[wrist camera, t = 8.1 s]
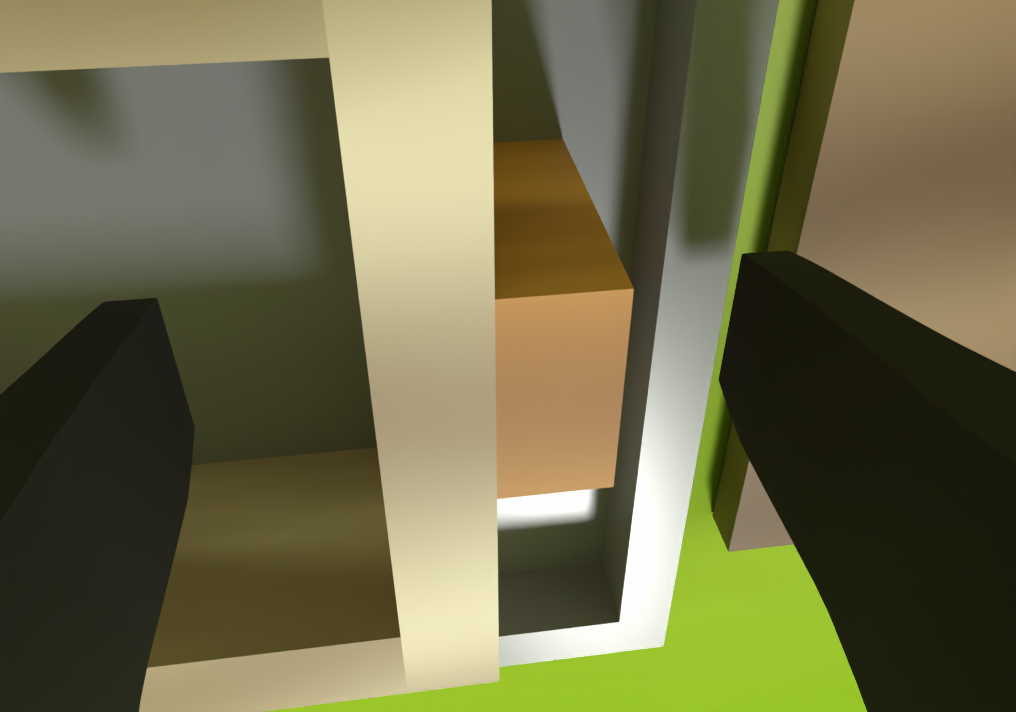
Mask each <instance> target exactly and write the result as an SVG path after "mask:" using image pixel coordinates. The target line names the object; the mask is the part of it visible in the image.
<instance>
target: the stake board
mask: <svg viewBox="0 0 1016 712" xmlns="http://www.w3.org/2000/svg"><path fill="white" fill-rule="evenodd" d="M786 250H788V251H791V252H793V253H795V254H797V255H800V256H802V257H804V258H806V259H808V260H810V261H812V262H814V263H815V264H817V265H819V266H821V267H823V268H825V269H827V270H828V271H830V272H832V273H834V274H836V275H837V276H839V277H841V278H843V279H844V280H846V281H848V282H850V283H851V284H853V285H855V286H857V287H858V288H860V289H862V290H864V291H865V292H867V293H869V294H870V295H872V296H874V297H876V298H877V299H879V300H881V301H883V302H884V303H886V304H888V305H890V306H891V307H893V308H895V309H897V310H898V311H900V312H902V313H904V314H906V315H907V316H909V317H911V318H913V319H914V320H916V321H918V322H920V323H922V324H924V325H925V326H927V327H929V328H931V329H933V330H934V331H936V332H938V333H940V334H942V335H944V336H946V337H948V338H949V339H951V340H953V341H955V342H957V343H959V344H961V345H963V346H965V347H967V348H969V349H971V350H973V351H975V352H977V353H979V354H981V355H983V356H985V357H987V358H989V359H991V360H993V361H995V362H997V363H999V364H1001V365H1003V366H1005V367H1007V368H1009V369H1011V370H1013V371H1015V372H1016V0H818V3H817V8H816V13H815V18H814V23H813V28H812V33H811V37H810V42H809V47H808V52H807V57H806V62H805V67H804V72H803V76H802V81H801V86H800V91H799V96H798V101H797V106H796V111H795V116H794V120H793V125H792V130H791V135H790V140H789V145H788V150H787V155H786V159H785V164H784V169H783V174H782V179H781V184H780V189H779V194H778V199H777V203H776V208H775V213H774V218H773V223H772V228H771V233H770V238H769V242H768V247H767V252H772V251H786ZM713 518H714V520H715V522H716V525H717V527H718V529H719V531H720V534H721V536H722V538H723V541H724V543H725V545H726V547H727V550H728V552H731V551H739V550H748V549H757V548H765V547H774V546H783V545H792V544H793V542H792V540H791V538H790V536H789V534H788V532H787V530H786V529H785V527H784V525H783V523H782V521H781V519H780V517H779V515H778V514H777V512H776V510H775V508H774V506H773V504H772V502H771V501H770V499H769V497H768V495H767V493H766V491H765V489H764V487H763V485H762V483H761V482H760V480H759V478H758V476H757V474H756V472H755V470H754V468H753V466H752V464H751V462H750V460H749V458H748V456H747V454H746V452H745V450H744V448H743V446H742V445H741V442H740V439H739V437H738V434H737V431H736V429H735V426H734V423H733V421H732V423H731V428H730V433H729V438H728V443H727V448H726V452H725V457H724V462H723V467H722V472H721V477H720V482H719V487H718V491H717V496H716V501H715V506H714V511H713Z"/></svg>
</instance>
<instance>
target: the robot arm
mask: <svg viewBox="0 0 1016 712" xmlns="http://www.w3.org/2000/svg"><path fill="white" fill-rule="evenodd" d="M719 382H720V385H721V388H722V391H723V394H724V397H725V400H726V403H727V406H728V409H729V412H730V415H731V418H732V421H733V423H734V426H735V429H736V431H737V434H738V437H739V439H740V442H741V445H742V446H743V448H744V450H745V452H746V454H747V456H748V458H749V460H750V462H751V464H752V466H753V468H754V470H755V472H756V474H757V476H758V478H759V480H760V482H761V483H762V485H763V487H764V489H765V491H766V493H767V495H768V497H769V499H770V501H771V502H772V504H773V506H774V508H775V510H776V512H777V514H778V515H779V517H780V519H781V521H782V523H783V525H784V527H785V529H786V530H787V532H788V534H789V536H790V538H791V540H792V542H793V544H794V545H795V547H796V549H797V551H798V553H799V555H800V557H801V559H802V560H803V562H804V564H805V566H806V568H807V570H808V572H809V574H810V575H811V577H812V579H813V581H814V583H815V585H816V587H817V589H818V591H819V594H820V596H821V598H822V600H823V602H824V604H825V606H826V608H827V610H828V612H829V615H830V617H831V620H832V622H833V625H834V627H835V630H836V632H837V635H838V637H839V640H840V642H841V645H842V647H843V650H844V652H845V655H846V657H847V660H848V662H849V665H850V667H851V670H852V672H853V675H854V677H855V680H856V682H857V685H858V687H859V690H860V693H861V696H862V698H863V701H864V704H865V706H866V709H867V712H1016V372H1015V371H1013V370H1011V369H1009V368H1007V367H1005V366H1003V365H1001V364H999V363H997V362H995V361H993V360H991V359H989V358H987V357H985V356H983V355H981V354H979V353H977V352H975V351H973V350H971V349H969V348H967V347H965V346H963V345H961V344H959V343H957V342H955V341H953V340H951V339H949V338H948V337H946V336H944V335H942V334H940V333H938V332H936V331H934V330H933V329H931V328H929V327H927V326H925V325H924V324H922V323H920V322H918V321H916V320H914V319H913V318H911V317H909V316H907V315H906V314H904V313H902V312H900V311H898V310H897V309H895V308H893V307H891V306H890V305H888V304H886V303H884V302H883V301H881V300H879V299H877V298H876V297H874V296H872V295H870V294H869V293H867V292H865V291H864V290H862V289H860V288H858V287H857V286H855V285H853V284H851V283H850V282H848V281H846V280H844V279H843V278H841V277H839V276H837V275H836V274H834V273H832V272H830V271H828V270H827V269H825V268H823V267H821V266H819V265H817V264H815V263H814V262H812V261H810V260H808V259H806V258H804V257H802V256H800V255H797V254H795V253H793V252H791V251H788V250H786V251H772V252H759V253H746V254H742V257H741V262H740V268H739V273H738V278H737V284H736V289H735V295H734V300H733V305H732V311H731V316H730V322H729V327H728V332H727V338H726V343H725V349H724V354H723V359H722V365H721V370H720V375H719ZM194 432H195V427H194V423H193V420H192V416H191V413H190V409H189V406H188V402H187V399H186V396H185V392H184V389H183V385H182V382H181V378H180V375H179V371H178V368H177V364H176V361H175V358H174V354H173V351H172V347H171V344H170V340H169V337H168V333H167V330H166V326H165V323H164V320H163V316H162V313H161V309H160V306H159V302H158V299H157V298H147V299H133V300H120V301H107V302H103V303H102V304H100V305H99V306H98V307H97V308H95V309H94V310H93V311H92V312H91V313H89V314H88V315H87V316H86V317H85V318H84V319H83V320H81V321H80V322H79V323H78V324H77V325H76V326H75V327H74V328H73V329H72V330H70V331H69V332H68V333H67V334H66V335H65V336H64V337H63V338H62V339H61V340H60V341H59V342H57V343H56V344H55V345H54V346H53V347H52V348H51V349H50V350H49V351H48V352H47V353H46V354H45V355H43V356H42V357H41V358H40V359H39V360H38V361H37V362H36V363H35V364H34V365H32V366H31V367H30V368H29V369H28V370H27V371H26V372H25V373H24V374H23V375H21V376H20V377H19V378H18V379H17V380H16V381H15V382H14V383H13V384H11V385H10V386H9V387H8V388H7V389H6V390H5V391H4V392H3V393H2V394H0V712H139V708H140V701H141V696H142V691H143V686H144V681H145V676H146V671H147V666H148V661H149V657H150V653H151V649H152V645H153V641H154V637H155V633H156V629H157V625H158V621H159V617H160V613H161V608H162V604H163V600H164V596H165V592H166V588H167V584H168V580H169V576H170V572H171V568H172V564H173V560H174V556H175V552H176V548H177V544H178V540H179V535H180V531H181V527H182V523H183V519H184V514H185V510H186V506H187V501H188V495H189V485H190V476H191V467H192V456H193V444H194Z"/></svg>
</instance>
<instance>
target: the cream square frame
mask: <svg viewBox="0 0 1016 712" xmlns="http://www.w3.org/2000/svg"><path fill="white" fill-rule="evenodd" d="M308 58H329V60H330V68H331V76H332V84H333V92H334V100H335V108H336V116H337V125H338V133H339V141H340V149H341V157H342V165H343V173H344V181H345V189H346V198H347V206H348V214H349V222H350V230H351V238H352V246H353V254H354V262H355V271H356V279H357V287H358V295H359V303H360V311H361V319H362V327H363V335H364V344H365V352H366V360H367V368H368V376H369V384H370V392H371V400H372V408H373V417H374V425H375V433H376V441H377V447H375V448H365V449H354V450H344V451H333V452H323V453H313V454H302V455H292V456H281V457H271V458H261V459H250V460H240V461H229V462H219V463H209V464H198V465H192V467H191V476H190V485H189V495H188V501H187V506H186V510H185V514H184V519H183V523H182V527H181V531H180V535H179V540H178V544H177V548H176V552H175V556H174V560H173V564H172V568H171V572H170V576H169V580H168V584H167V588H166V592H165V596H164V600H163V604H162V608H161V613H160V617H159V621H158V625H157V629H156V633H155V637H154V641H153V645H152V649H151V653H150V657H149V661H148V666H147V671H146V676H145V681H144V686H143V691H142V696H141V701H140V708H139V712H263V711H271V710H279V709H287V708H294V707H302V706H310V705H318V704H326V703H333V702H341V701H349V700H357V699H365V698H373V697H380V696H388V695H396V694H404V693H412V692H419V691H427V690H435V689H443V688H451V687H459V686H466V685H474V684H482V683H490V682H498V681H499V623H498V534H497V499H503V498H512V497H522V496H532V495H541V494H551V493H560V492H570V491H580V490H589V489H599V488H608V487H614V478H615V468H616V459H617V449H618V439H619V429H620V420H621V410H622V400H623V390H624V381H625V371H626V361H627V351H628V342H629V332H630V322H631V312H632V303H633V293H634V288H633V286H632V284H631V281H630V279H629V277H628V275H627V273H626V271H625V269H624V267H623V265H622V262H621V260H620V258H619V256H618V254H617V252H616V250H615V248H614V246H613V243H612V241H611V239H610V237H609V235H608V233H607V231H606V229H605V227H604V224H603V222H602V220H601V218H600V216H599V214H598V212H597V210H596V208H595V205H594V203H593V201H592V199H591V197H590V195H589V193H588V191H587V189H586V186H585V184H584V182H583V180H582V178H581V176H580V174H579V172H578V170H577V167H576V165H575V163H574V161H573V159H572V157H571V155H570V153H569V151H568V148H567V146H566V144H565V142H564V140H563V139H547V140H530V141H513V142H496V143H493V90H492V1H491V0H0V73H6V72H28V71H50V70H71V69H93V68H114V67H136V66H157V65H179V64H201V63H222V62H244V61H265V60H287V59H308Z"/></svg>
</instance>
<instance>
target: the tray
mask: <svg viewBox="0 0 1016 712" xmlns="http://www.w3.org/2000/svg"><path fill="white" fill-rule="evenodd" d="M491 1H492V90H493V143H496V142H513V141H530V140H547V139H563V140H564V142H565V144H566V146H567V148H568V151H569V153H570V155H571V157H572V159H573V161H574V163H575V165H576V167H577V170H578V172H579V174H580V176H581V178H582V180H583V182H584V184H585V186H586V189H587V191H588V193H589V195H590V197H591V199H592V201H593V203H594V205H595V208H596V210H597V212H598V214H599V216H600V218H601V220H602V222H603V224H604V227H605V229H606V231H607V233H608V235H609V237H610V239H611V241H612V243H613V246H614V248H615V250H616V252H617V254H618V256H619V258H620V260H621V262H622V265H623V267H624V269H625V271H626V273H627V275H628V277H629V279H630V281H631V284H632V286H633V288H634V293H633V303H632V312H631V322H630V332H629V342H628V351H627V361H626V371H625V381H624V390H623V400H622V410H621V420H620V429H619V439H618V449H617V459H616V468H615V478H614V487H608V488H599V489H589V490H580V491H570V492H560V493H551V494H541V495H532V496H522V497H512V498H503V499H497V534H498V623H499V667H503V666H511V665H519V664H527V663H534V662H542V661H550V660H558V659H566V658H574V657H582V656H590V655H598V654H606V653H614V652H622V651H630V650H638V649H646V648H653V647H661V646H663V645H664V640H665V634H666V629H667V623H668V617H669V612H670V606H671V601H672V595H673V589H674V584H675V578H676V573H677V567H678V562H679V556H680V550H681V545H682V539H683V534H684V528H685V522H686V517H687V511H688V506H689V500H690V494H691V489H692V483H693V478H694V472H695V466H696V461H697V455H698V450H699V444H700V439H701V433H702V427H703V422H704V416H705V411H706V405H707V399H708V394H709V388H710V383H711V377H712V371H713V366H714V360H715V355H716V349H717V343H718V338H719V332H720V327H721V321H722V316H723V310H724V304H725V299H726V293H727V288H728V282H729V276H730V271H731V265H732V260H733V254H734V248H735V243H736V237H737V232H738V226H739V221H740V215H741V209H742V204H743V198H744V193H745V187H746V181H747V176H748V170H749V165H750V159H751V153H752V148H753V142H754V137H755V131H756V125H757V120H758V114H759V109H760V103H761V98H762V92H763V86H764V81H765V75H766V70H767V64H768V58H769V53H770V47H771V42H772V36H773V30H774V25H775V19H776V14H777V8H778V3H779V0H491ZM147 298H157V299H158V302H159V306H160V309H161V313H162V316H163V320H164V323H165V326H166V330H167V333H168V337H169V340H170V344H171V347H172V351H173V354H174V358H175V361H176V364H177V368H178V371H179V375H180V378H181V382H182V385H183V389H184V392H185V396H186V399H187V402H188V406H189V409H190V413H191V416H192V420H193V423H194V427H195V432H194V444H193V456H192V465H198V464H209V463H219V462H229V461H240V460H250V459H261V458H271V457H281V456H292V455H302V454H313V453H323V452H333V451H344V450H354V449H365V448H375V447H377V441H376V433H375V425H374V417H373V408H372V400H371V392H370V384H369V376H368V368H367V360H366V352H365V344H364V335H363V327H362V319H361V311H360V303H359V295H358V287H357V279H356V271H355V262H354V254H353V246H352V238H351V230H350V222H349V214H348V206H347V198H346V189H345V181H344V173H343V165H342V157H341V149H340V141H339V133H338V125H337V116H336V108H335V100H334V92H333V84H332V76H331V68H330V60H329V58H308V59H287V60H265V61H244V62H222V63H201V64H179V65H157V66H136V67H114V68H93V69H71V70H50V71H28V72H6V73H0V394H2V393H3V392H4V391H5V390H6V389H7V388H8V387H9V386H10V385H11V384H13V383H14V382H15V381H16V380H17V379H18V378H19V377H20V376H21V375H23V374H24V373H25V372H26V371H27V370H28V369H29V368H30V367H31V366H32V365H34V364H35V363H36V362H37V361H38V360H39V359H40V358H41V357H42V356H43V355H45V354H46V353H47V352H48V351H49V350H50V349H51V348H52V347H53V346H54V345H55V344H56V343H57V342H59V341H60V340H61V339H62V338H63V337H64V336H65V335H66V334H67V333H68V332H69V331H70V330H72V329H73V328H74V327H75V326H76V325H77V324H78V323H79V322H80V321H81V320H83V319H84V318H85V317H86V316H87V315H88V314H89V313H91V312H92V311H93V310H94V309H95V308H97V307H98V306H99V305H100V304H102V303H103V302H107V301H120V300H133V299H147Z"/></svg>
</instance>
